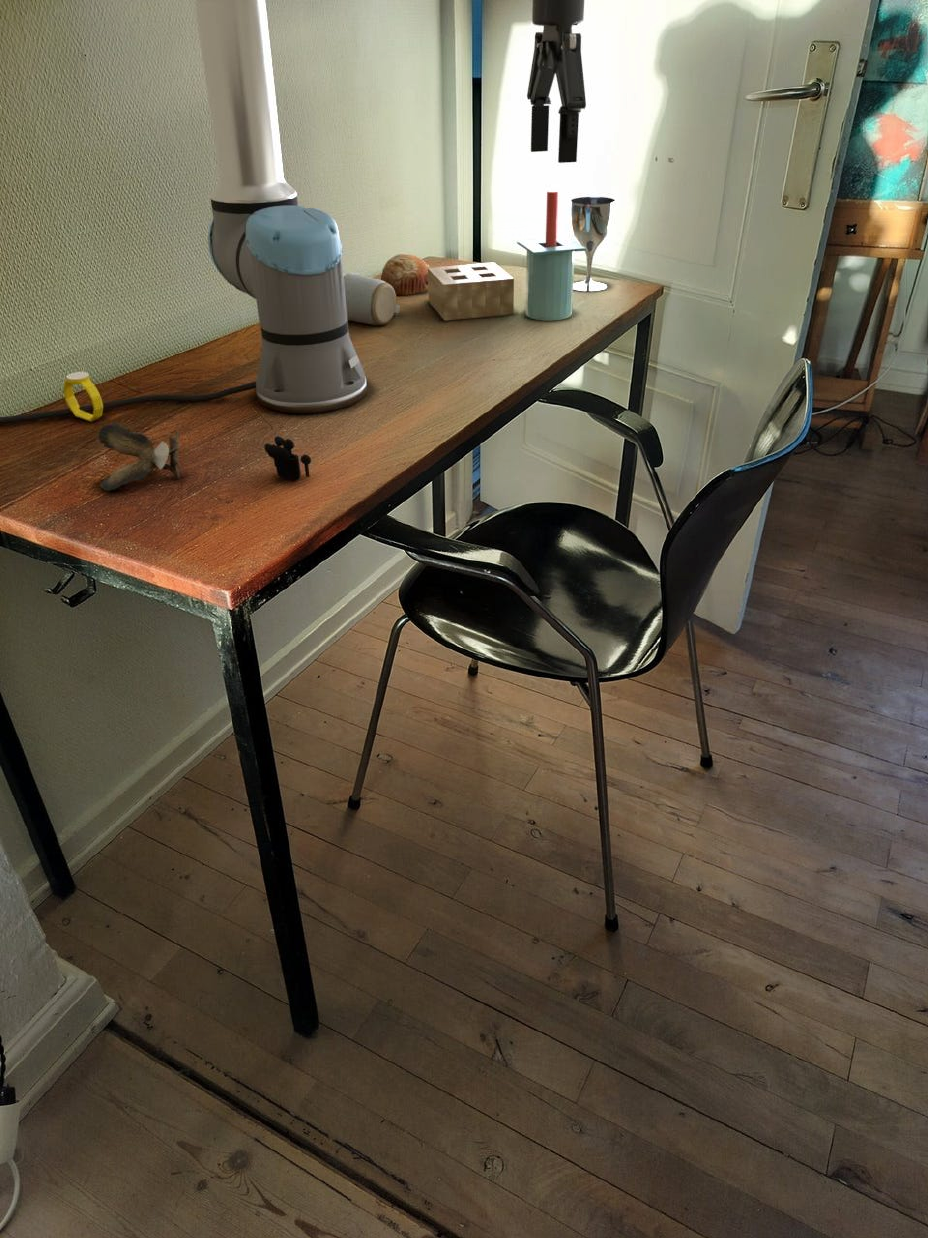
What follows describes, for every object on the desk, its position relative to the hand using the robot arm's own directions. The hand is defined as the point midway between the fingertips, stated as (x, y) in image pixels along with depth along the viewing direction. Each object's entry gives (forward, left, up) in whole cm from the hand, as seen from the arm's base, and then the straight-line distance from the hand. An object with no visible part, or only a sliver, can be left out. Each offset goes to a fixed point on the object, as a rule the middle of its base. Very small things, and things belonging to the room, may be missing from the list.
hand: (552, 156), depth 142 cm
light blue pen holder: (0, 0, -25) cm, 25 cm away
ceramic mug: (-30, +6, -25) cm, 39 cm away
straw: (0, 0, -24) cm, 24 cm away
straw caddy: (-12, +8, -25) cm, 28 cm away
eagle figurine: (-66, -49, -25) cm, 86 cm away
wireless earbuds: (-50, -54, -25) cm, 77 cm away
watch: (-74, -27, -25) cm, 82 cm away
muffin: (-20, +25, -25) cm, 40 cm away
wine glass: (+13, +15, -25) cm, 32 cm away
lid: (0, 0, -14) cm, 14 cm away
